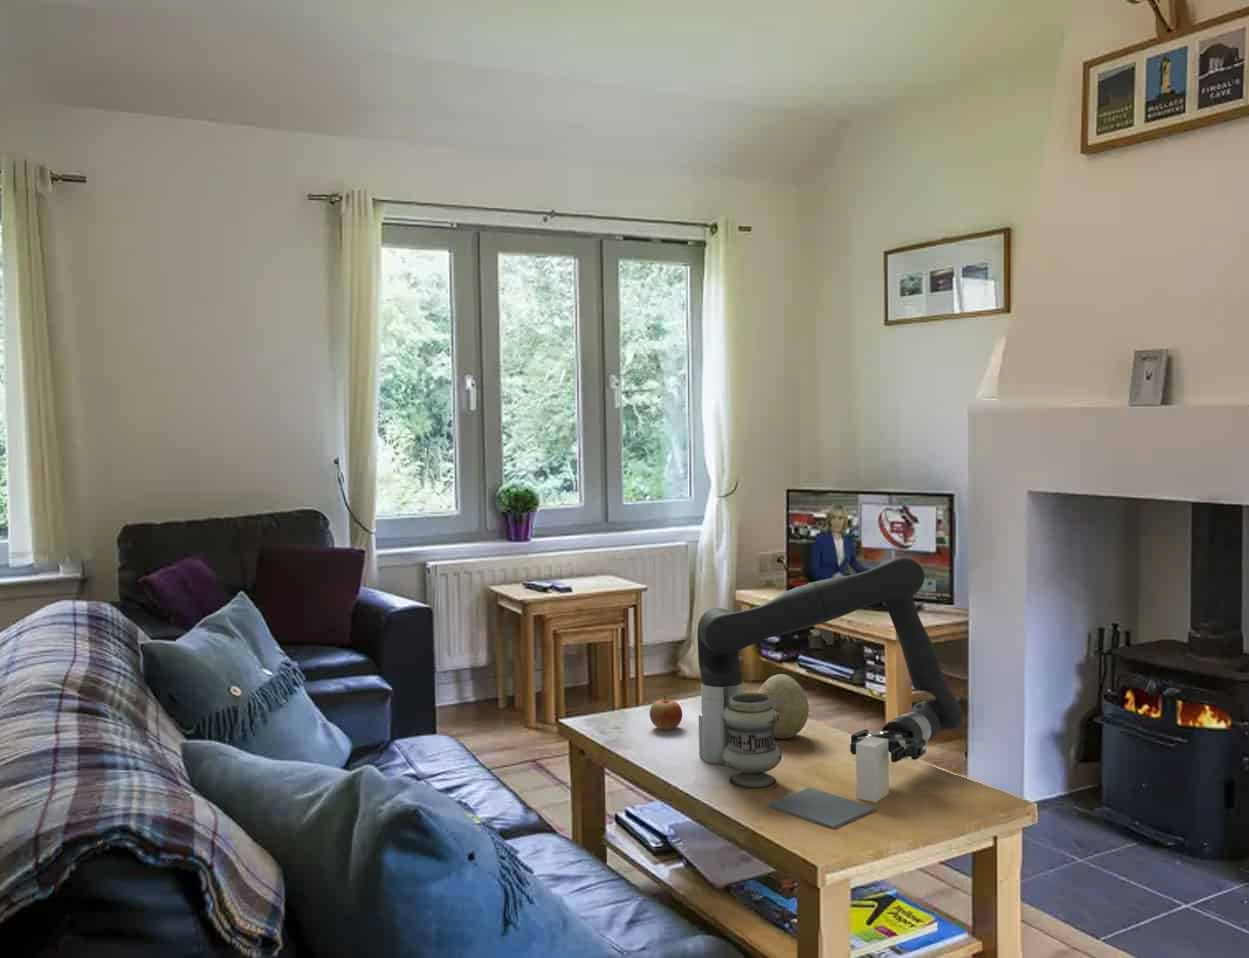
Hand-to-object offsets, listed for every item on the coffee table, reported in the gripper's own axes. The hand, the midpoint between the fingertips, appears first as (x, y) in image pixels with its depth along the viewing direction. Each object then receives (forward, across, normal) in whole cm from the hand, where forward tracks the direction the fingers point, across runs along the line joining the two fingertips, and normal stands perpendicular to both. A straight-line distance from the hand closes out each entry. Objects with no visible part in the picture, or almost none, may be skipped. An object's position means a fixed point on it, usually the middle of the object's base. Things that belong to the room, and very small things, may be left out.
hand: (872, 753), depth 208 cm
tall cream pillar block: (0, 0, +8) cm, 9 cm away
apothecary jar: (+7, -24, +9) cm, 26 cm away
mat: (+12, -5, +8) cm, 15 cm away
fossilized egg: (-23, -34, +9) cm, 42 cm away
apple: (-14, -61, +9) cm, 64 cm away
